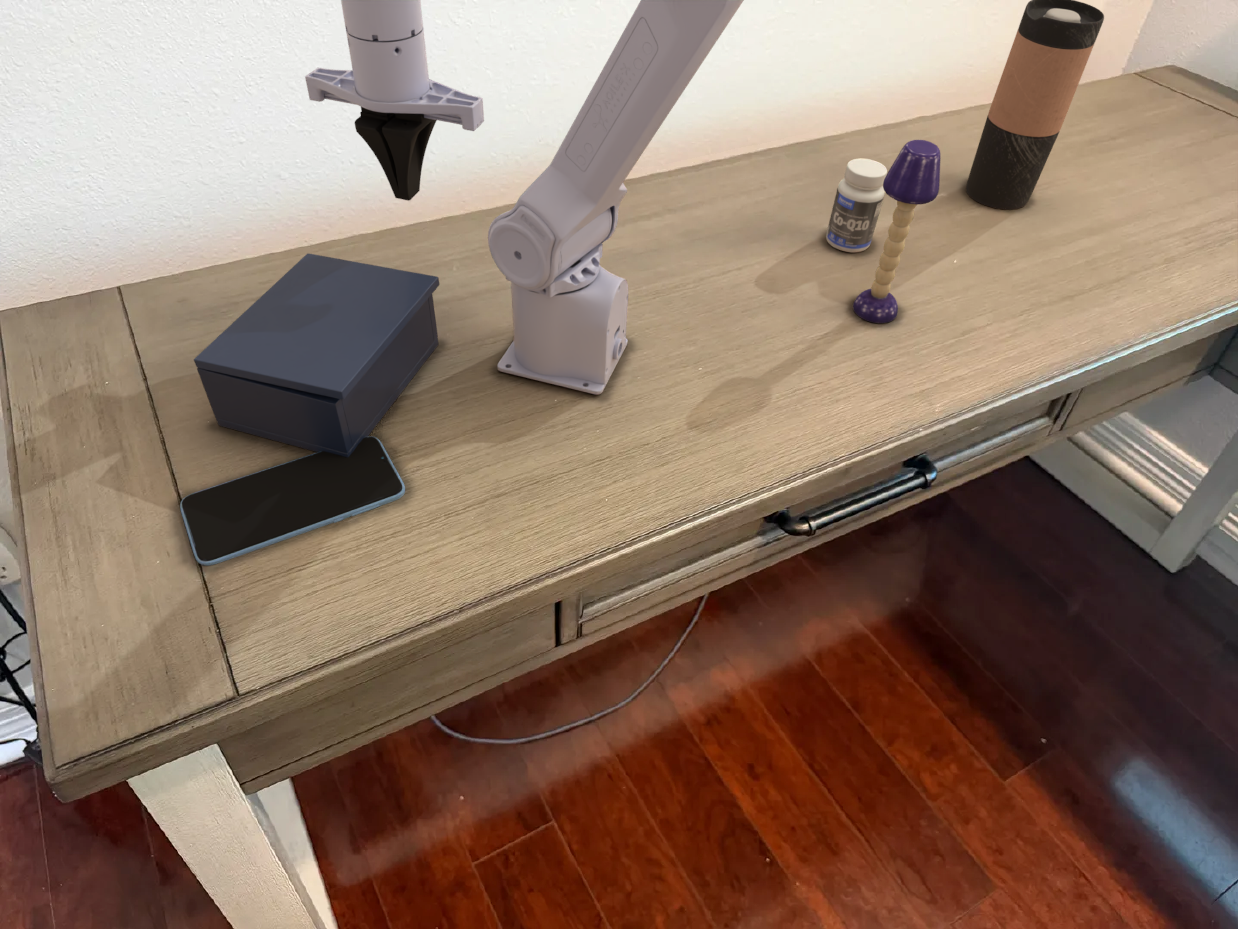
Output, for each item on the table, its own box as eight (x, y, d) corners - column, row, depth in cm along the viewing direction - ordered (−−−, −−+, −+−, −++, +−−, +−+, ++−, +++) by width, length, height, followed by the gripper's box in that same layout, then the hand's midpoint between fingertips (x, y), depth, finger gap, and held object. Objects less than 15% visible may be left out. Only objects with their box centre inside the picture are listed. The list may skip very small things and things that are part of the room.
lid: (440, 284, 74) (438, 276, 74) (343, 400, 64) (341, 391, 63) (309, 260, 77) (307, 252, 76) (196, 367, 66) (192, 359, 66)
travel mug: (1038, 190, 104) (1113, 7, 90) (1021, 218, 99) (1097, 29, 85) (974, 171, 107) (1036, -9, 92) (954, 197, 102) (1017, 11, 88)
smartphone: (175, 496, 65) (375, 430, 70) (179, 504, 65) (377, 438, 71) (197, 567, 60) (409, 490, 66) (201, 575, 61) (410, 498, 66)
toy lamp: (904, 327, 84) (959, 159, 72) (855, 327, 83) (903, 158, 72) (890, 297, 87) (940, 132, 75) (843, 297, 87) (887, 131, 75)
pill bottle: (820, 246, 93) (838, 171, 87) (830, 225, 96) (848, 151, 90) (865, 257, 92) (886, 182, 86) (874, 236, 95) (895, 161, 89)
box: (439, 344, 79) (432, 289, 75) (349, 461, 68) (335, 404, 64) (322, 316, 81) (309, 261, 77) (217, 425, 70) (196, 368, 66)
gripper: (495, 25, 68) (503, 188, 78) (327, -3, 71) (355, 158, 81) (455, 57, 64) (470, 227, 73) (277, 26, 66) (313, 194, 76)
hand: (407, 194), depth 77 cm, fingers closed
